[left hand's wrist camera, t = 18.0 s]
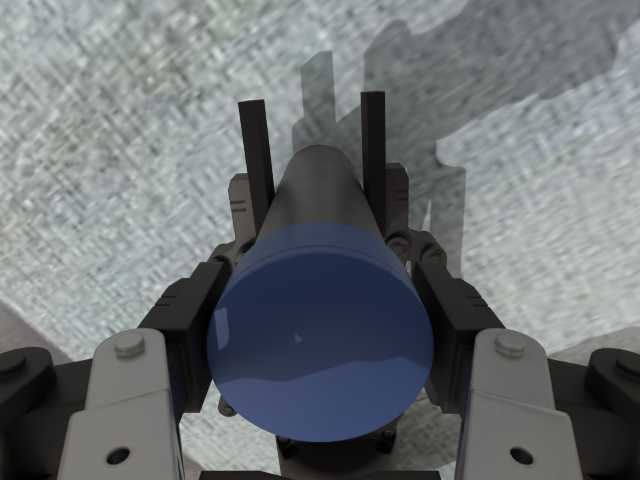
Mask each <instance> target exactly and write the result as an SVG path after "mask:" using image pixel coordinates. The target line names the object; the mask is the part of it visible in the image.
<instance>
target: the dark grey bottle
mask: <svg viewBox="0 0 640 480" xmlns="http://www.w3.org/2000/svg"><path fill="white" fill-rule="evenodd" d="M309 222H332V223H339V224H344V225H348V226H352V227H355V228H357V229H360V230H362V231H365V232H367V233H369V234H370V235H372V236H374V237H376V238H377V239H379V240H380V241H381V242H383V243H384V244H385V242H384V240H383V238H382V235H381V233H380V230H379V228H378V226H377V223H376V221H375V218H374V216H373V214H372V211H371V209H370V206H369V204H368V202H367V199H366V197H365V194H364V192H363V190H362V187H361V185H360V182H359V180H358V178H357V175H356V173H355V170H354V168H353V166H352V164H351V162H350V160H349V159H348V158H347V157H346V156H345V155H344V154H343V153H342V152H340V151H339V150H337V149H335V148H333V147H330V146H325V145H315V146H310V147H307V148H305V149H303V150H301V151H300V152H298V153H297V154H296V155H295V156H294V157H293V158H292V159H291V161H290V162H289V164H288V166H287V168H286V170H285V173H284V175H283V177H282V180H281V182H280V185H279V187H278V189H277V192H276V194H275V197H274V199H273V201H272V204H271V206H270V209H269V211H268V213H267V216H266V218H265V221H264V223H263V225H262V228H261V230H260V233H259V235H258V238H257V240H256V242H255V244H256V243H257V242H259V241H260V240H261V239H263V238H264V237H266V236H268V235H270V234H272V233H273V232H275V231H278V230H280V229H283V228H285V227H288V226H292V225H296V224H300V223H309Z"/></svg>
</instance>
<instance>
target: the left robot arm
mask: <svg viewBox="0 0 640 480" xmlns="http://www.w3.org/2000/svg"><path fill="white" fill-rule="evenodd" d="M229 278H230V277H229V268H228V264H227V263H226V262H200V263H199V265H198V266H197V268H196V269H195V271H194V272H193V273H192V275H191V276H190V278H181V279H180V280H178V281H176V282H175V283H173V284H172V285H170V286H168V288H167V289H166V290H165V292H164V293H163V294H162V296H161V298H159V299H158V301H157V302H156V303H155V306H153V307H152V309H151V310H150V311H149V313H148V314H147V315H146V317H145V318H144V319H143V320H142V322H141V323H140V324H139V326H138V327H137V328H136V329H130V330H126V331H123V332H120V333H117V334H115V335H113V336H111V337H109V338H107V339H106V340H104V341H103V342H102V343H101V344H100V345H99V346H98V347H97V348H96V350H95V352H94V355H93V358H91V359H87V360H82V361H77V362H72V363H67V364H62V365H57V366H54V363H53V360H52V357H51V354H50V352H49V351H48V350H46V349H44V348H40V347H26V348H19V349H15V350H11V351H8V352H5V353H2V354H0V480H186V475H185V467H184V459H183V451H182V443H181V434H180V428H179V423H180V420H181V418H182V415H183V413H200V411H201V408H202V405H203V403H204V400H205V397H206V394H207V392H208V389H209V386H210V384H211V381H212V376H211V373H210V370H209V366H208V362H207V354H206V336H207V332H208V327H209V323H210V320H211V318H212V315H213V312H214V310H215V308H216V306H217V304H218V302H219V300H220V297H221V295H222V293H223V291H224V289H225V287H226V285H227V283H228V281H229ZM412 282H413V285H414V287H415V289H416V291H417V293H418V295H419V297H420V299H421V301H422V304H423V306H424V308H425V310H426V312H427V314H428V317H429V320H430V323H431V326H432V331H433V336H434V356H433V363H432V367H431V370H430V373H429V378H430V380H431V383H432V386H433V388H434V391H435V394H436V396H437V399H438V402H439V404H440V407H441V409H442V412H443V414H460V416H461V419H462V422H461V428H460V434H459V443H458V451H457V459H456V467H455V475H454V480H640V354H637V353H634V352H630V351H626V350H622V349H615V348H602V349H598V350H595V351H594V352H593V353H592V354H591V356H590V360H589V363H588V366H583V365H578V364H573V363H567V362H562V361H557V360H553V359H549V358H547V355H546V352H545V350H544V348H543V347H542V346H541V345H540V344H539V343H538V342H537V341H536V340H534V339H533V338H531V337H529V336H527V335H525V334H523V333H520V332H517V331H514V330H510V329H506V328H505V326H504V325H503V324H502V323H501V321H500V320H499V319H498V317H497V316H496V315H495V313H494V312H493V311H492V310H491V308H490V307H488V304H487V303H486V302H485V301H484V299H482V298H481V295H480V294H479V293H478V291H477V290H476V289H475V288H474V287H473V286H472V285H470V284H469V283H467V282H465V281H464V280H462V279H460V278H452V276H451V275H450V273H449V272H448V270H447V269H446V268H445V266H444V265H443V263H441V262H416V263H415V265H414V269H413V278H412ZM199 480H294V479H290V478H287V477H283V476H279V475H275V474H271V473H267V472H263V471H201V474H200V477H199ZM346 480H441V477H440V474H439V471H377V472H373V473H369V474H365V475H361V476H357V477H353V478H350V479H346Z"/></svg>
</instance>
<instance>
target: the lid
mask: <svg viewBox="0 0 640 480" xmlns="http://www.w3.org/2000/svg"><path fill="white" fill-rule="evenodd" d="M206 354H207V362H208V366H209V370H210V373H211V376H212V378H213V380H214V383H215V385H216V387H217V388H218V390H219V392H220V393H221V395H222V396H223V398H224V399H225V400H226V401H227V402H228V404H229V405H230V406H231V407H232V408H233V409H234V410H235V411H236V412H238V413H239V414H240V415H241V416H242V417H244V418H245V419H246V420H248V421H249V422H251V423H253V424H254V425H256V426H258V427H260V428H261V429H264V430H266V431H268V432H270V433H273V434H276V435H279V436H282V437H285V438H290V439H294V440H300V441H309V442H331V441H340V440H346V439H351V438H355V437H358V436H361V435H365V434H367V433H370V432H372V431H374V430H377V429H379V428H380V427H382V426H384V425H386V424H388V423H389V422H391V421H392V420H394V419H395V418H396V417H398V416H399V415H400V414H401V413H403V412H404V411H405V410H406V409H407V408H408V407H409V406H410V405H411V404H412V402H413V401H414V400H415V399H416V398H417V396H418V395H419V393H420V392H421V390H422V389H423V387H424V385H425V383H426V381H427V379H428V376H429V373H430V370H431V367H432V363H433V356H434V336H433V331H432V326H431V323H430V320H429V317H428V314H427V312H426V310H425V308H424V306H423V304H422V301H421V299H420V297H419V295H418V293H417V291H416V289H415V287H414V285H413V282H412V280H411V278H410V276H409V274H408V272H407V270H406V269H405V267H404V265H403V263H402V262H401V261H400V259H399V258H398V257H397V255H396V254H395V253H394V252H393V251H392V250H391V249H390V248H389V247H388V246H387V245H385V244H384V243H383V242H381V241H380V240H379V239H377V238H376V237H374V236H372V235H370V234H369V233H367V232H365V231H362V230H360V229H357V228H355V227H352V226H348V225H344V224H339V223H332V222H309V223H300V224H296V225H292V226H288V227H285V228H283V229H280V230H278V231H275V232H273V233H272V234H270V235H268V236H266V237H264V238H263V239H261V240H260V241H259V242H257V243H256V244H255V245H253V246H252V247H251V248H250V249H249V250H248V251H247V252H246V253H245V254H244V256H243V257H242V258H241V259H240V261H239V262H238V263H237V265H236V267H235V269H234V271H233V272H232V274H231V276H230V278H229V281H228V283H227V285H226V287H225V289H224V291H223V293H222V295H221V297H220V300H219V302H218V304H217V306H216V308H215V310H214V312H213V315H212V318H211V320H210V323H209V327H208V332H207V336H206Z"/></svg>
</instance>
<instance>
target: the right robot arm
mask: <svg viewBox="0 0 640 480" xmlns="http://www.w3.org/2000/svg"><path fill="white" fill-rule="evenodd" d="M238 107H239V114H240V122H241V129H242V136H243V143H244V151H245V158H246V165H247V173H241V174H236V175H235V176H234V177H233V178H232V179H231V181H230V185H229V189H228V193H229V199H230V206H231V210H232V218H233V225H234V231H235V240H234V241H232V242H230V243H228V244H220V245H218V246H217V247H216V248H215V250H214V251H213V253H212V254H211V256H210V257H209V259H208V260H207V262H226V263H227V264H228V268H229V277H230V276H231V274H232V272H233V271H234V269H235V267H236V265H237V263H238V262H239V261H240V259H241V258H242V257H243V256H244V254H245V253H246V252H247V251H248V250H249V249H250V248H251V247H252V246H253V245H255V242H256V240H257V238H258V235H259V233H260V230H261V228H262V225H263V223H264V221H265V218H266V216H267V213H268V211H269V209H270V206H271V204H272V201H273V199H274V197H275V190H274V181H273V173H272V164H271V155H270V146H269V138H268V129H267V120H266V111H265V102H264V99H263V100H249V101H243V102H238ZM361 121H362V154H363V187H364V194H365V197H366V199H367V202H368V204H369V206H370V209H371V211H372V214H373V216H374V218H375V221H376V223H377V226H378V228H379V230H380V233H381V235H382V238H383V240H384V242H385V245H387V246H388V247H389V248H390V249H391V250H392V251H393V252H394V253H395V254H396V255H397V257H398V258H399V259H400V261H401V262H402V263H403V265H404V267H405V266H406V262H407V260H409V261H411V280H412V278H413V269H414V265H415V263H416V262H441V263H443V265H444V266H445V268H446V263H447V257H446V253H445V252H444V250H443V249H442V247H441V246H440V245H439V243H438V242H437V241H436V240H435V238H434V237H433V236H432V235H431V233H429V232H427V231H420V232H419V231H415V230H412V229H409V228H408V193H409V192H408V190H409V178H408V176H407V173H406V171H405V168H404V167H403V166H402V165H401V164H400V163H387V164H386V151H385V92H384V91H370V92H361ZM428 397H429V400H430V402H431V403H432V404H434V405H436V406H440V404H439V402H438V399H437V396H436V394H435V391H434V388H433V386H432V383H431V380H430V378H429V376H428V379H427V381H426V383H425V385H424V387H423V389H422V390H421V392H420V393H419V395H418V396H417V398H416V399H415V400H414V401H413V402H416V401H419V400H422V399H425V398H428ZM413 402H412V403H413ZM218 410H219V412H220V413H221V414H222V415H224V416H226V417H232V416H235V415H236V414H237V413H238V412H236V411H235V410H234V409H233V408H232V407H231V406H230V405H229V404H228V402H227V401H226V400H225V399H224V398H223V396H222V395H221V397H220V401H219V405H218ZM404 412H405V411H404ZM404 412H403V413H401V414H400V415H399V416H398V417H396V418H395V419H394V420H392V421H391V422H389V423H388V424H386V425H384V426H382V427H380V428H379V429H377V430H374V431H372V432H370V433H367V434H365V435H361V436H358V437H355V438H351V439H346V440H340V441H331V442H309V441H300V440H294V439H290V438H285V437H282V436H279V435H276V434H275V436H276V443H277V450H278V457H279V464H280V471H281V476H283V477H287V478H290V479H294V480H346V479H350V478H353V477H357V476H361V475H365V474H369V473H373V472H377V471H397V424H398V422H399V420H400V419H401V417H402V416H403V414H404Z"/></svg>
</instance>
